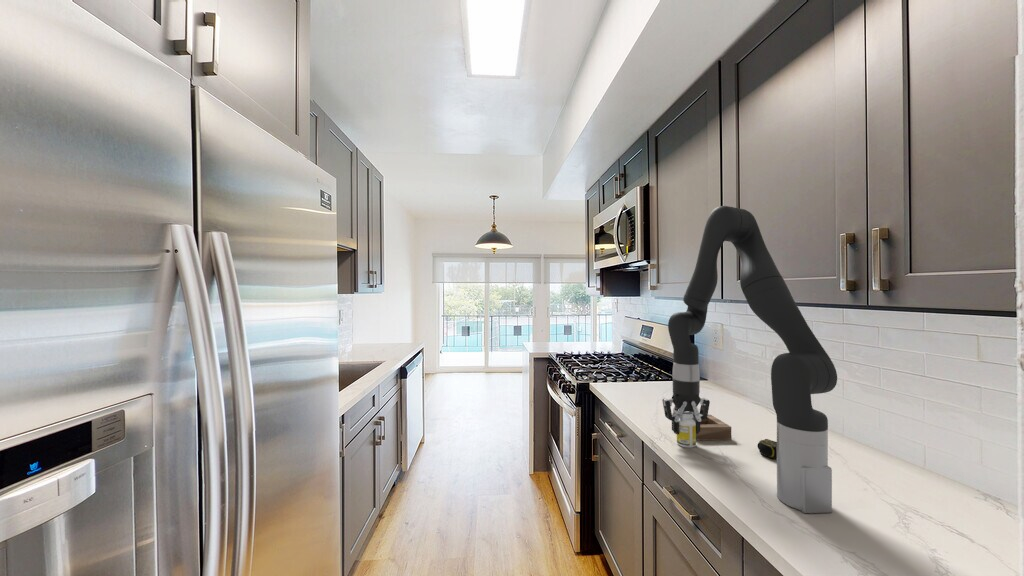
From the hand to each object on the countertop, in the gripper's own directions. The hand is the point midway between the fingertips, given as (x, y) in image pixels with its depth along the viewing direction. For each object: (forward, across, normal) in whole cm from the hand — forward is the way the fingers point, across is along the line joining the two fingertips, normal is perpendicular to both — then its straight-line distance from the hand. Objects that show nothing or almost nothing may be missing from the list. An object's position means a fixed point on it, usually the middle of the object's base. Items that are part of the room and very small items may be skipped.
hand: (686, 432), depth 121 cm
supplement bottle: (+4, 0, 0) cm, 4 cm away
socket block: (+3, +10, +9) cm, 14 cm away
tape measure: (+4, +21, -9) cm, 23 cm away
